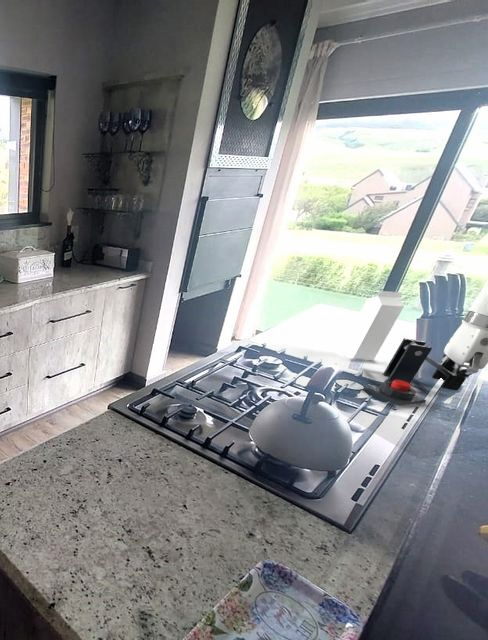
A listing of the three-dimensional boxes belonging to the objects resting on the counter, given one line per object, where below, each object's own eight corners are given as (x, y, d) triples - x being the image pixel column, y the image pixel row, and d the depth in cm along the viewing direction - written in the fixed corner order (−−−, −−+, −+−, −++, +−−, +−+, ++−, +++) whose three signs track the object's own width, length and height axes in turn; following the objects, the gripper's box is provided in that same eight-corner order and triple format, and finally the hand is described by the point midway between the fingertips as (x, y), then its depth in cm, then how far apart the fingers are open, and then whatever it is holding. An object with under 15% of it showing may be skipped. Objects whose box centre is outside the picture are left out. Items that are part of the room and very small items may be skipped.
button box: (388, 391, 110) (396, 378, 108) (421, 407, 103) (430, 394, 101) (362, 393, 108) (370, 381, 106) (394, 410, 102) (403, 397, 100)
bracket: (411, 382, 115) (437, 341, 109) (424, 396, 108) (452, 354, 102) (364, 372, 119) (386, 333, 113) (373, 386, 112) (397, 344, 106)
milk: (371, 364, 125) (411, 296, 114) (350, 362, 125) (387, 294, 114) (358, 355, 130) (394, 289, 119) (338, 354, 131) (372, 287, 120)
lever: (443, 375, 110) (453, 370, 108) (451, 383, 106) (462, 377, 105) (401, 345, 111) (411, 339, 110) (408, 352, 107) (418, 346, 106)
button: (396, 384, 106) (400, 379, 105) (411, 391, 103) (414, 385, 102) (386, 385, 105) (390, 380, 104) (400, 392, 102) (404, 386, 101)
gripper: (528, 335, 92) (478, 402, 101) (489, 313, 105) (448, 374, 114) (483, 329, 95) (439, 394, 103) (450, 308, 108) (414, 367, 117)
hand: (444, 383), depth 109 cm, fingers closed on lever, 5 cm apart
